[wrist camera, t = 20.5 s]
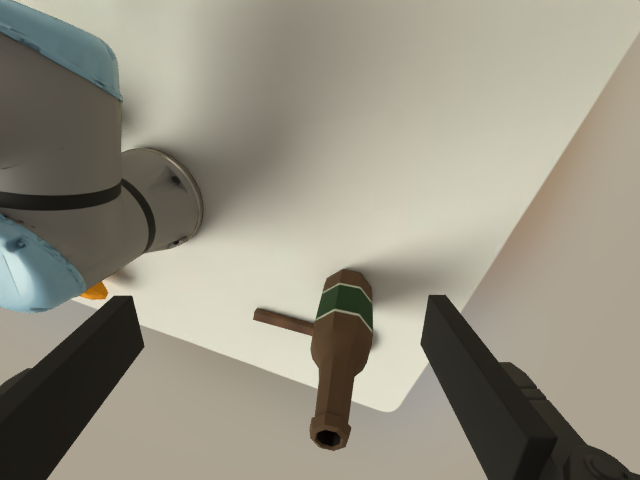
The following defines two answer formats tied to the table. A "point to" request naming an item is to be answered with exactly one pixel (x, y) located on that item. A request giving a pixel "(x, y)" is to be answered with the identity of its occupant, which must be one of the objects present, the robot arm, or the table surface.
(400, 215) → the table surface
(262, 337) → the table surface
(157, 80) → the table surface
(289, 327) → the wooden spoon
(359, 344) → the beer bottle
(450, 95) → the table surface
